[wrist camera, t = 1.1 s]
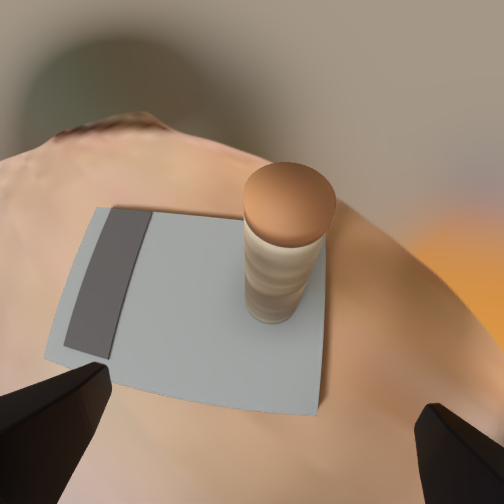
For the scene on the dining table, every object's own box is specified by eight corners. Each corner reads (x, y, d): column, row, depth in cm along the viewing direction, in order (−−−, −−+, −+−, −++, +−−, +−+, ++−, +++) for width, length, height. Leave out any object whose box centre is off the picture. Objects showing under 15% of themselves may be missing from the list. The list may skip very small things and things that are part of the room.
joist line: (108, 359, 19) (107, 359, 19) (64, 346, 19) (63, 345, 19) (152, 212, 25) (151, 211, 25) (112, 209, 25) (111, 208, 25)
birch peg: (262, 334, 20) (276, 249, 10) (236, 290, 22) (227, 180, 12) (307, 308, 21) (354, 210, 11) (279, 268, 22) (301, 152, 13)
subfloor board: (322, 240, 26) (326, 230, 24) (312, 415, 19) (316, 415, 17) (102, 216, 27) (96, 207, 25) (53, 362, 20) (43, 358, 18)
